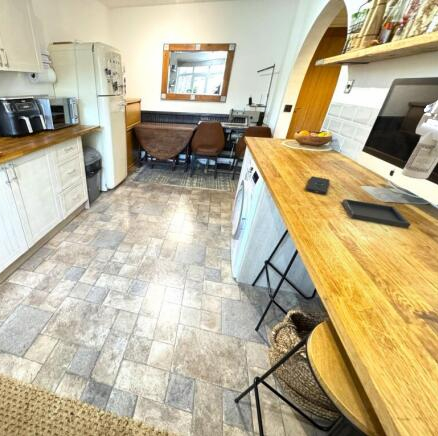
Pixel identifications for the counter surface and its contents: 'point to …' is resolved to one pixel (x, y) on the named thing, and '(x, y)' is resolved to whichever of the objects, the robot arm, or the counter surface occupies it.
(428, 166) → the bath foam
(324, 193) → the smart home device
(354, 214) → the tray
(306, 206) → the counter surface
